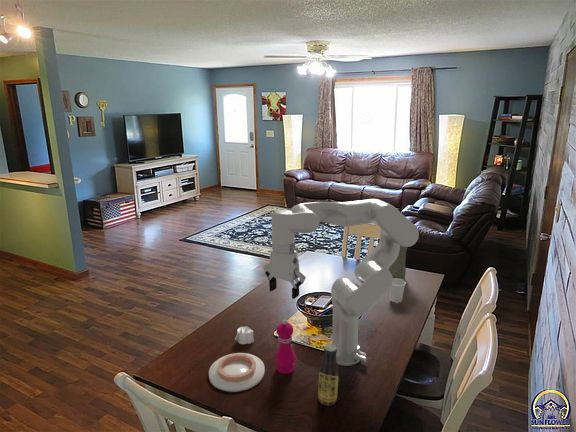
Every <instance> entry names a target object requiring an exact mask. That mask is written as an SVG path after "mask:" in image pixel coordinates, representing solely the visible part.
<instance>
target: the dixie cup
mask: <svg viewBox="0 0 576 432" xmlns="http://www.w3.org/2000/svg"><path fill="white" fill-rule="evenodd" d="M406 284H407V282H406V280H402V279H399V278H393V283H392V286H391V288H390V290H389V291H388V293H389V301H390V302H391V301H392V302H391V303H393V302H395V303H394V304H400V303H402V302H403V297H404V292H405V287H406ZM401 301H402V302H401ZM399 302H400V303H399Z"/></svg>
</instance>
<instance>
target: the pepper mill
mask: <svg viewBox="0 0 576 432" xmlns="http://www.w3.org/2000/svg"><path fill="white" fill-rule="evenodd" d="M293 333H294V328H293V325H292V324H291V323H289V322H288V320H287V319H282V321H281V322H280V323H279V324H278V325H277V327H276V334H277V340H278V342H279V347H278V349H277V351H276V354H275V362H276V363H277V364H276V369H277V372H279V373H280V374H283V375H286V374H287V375H288V374H291V373H293V372H294V370H295V362H296V354H295V352H294V350H293V348H292V343H291V342H292V341H293Z"/></svg>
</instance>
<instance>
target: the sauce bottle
mask: <svg viewBox="0 0 576 432" xmlns="http://www.w3.org/2000/svg"><path fill="white" fill-rule="evenodd" d="M336 353H337V347H336V346H335V345H333V344H331V343H328V344H326V345H324V349H323V354H324V356H323V359H322V361H321V362H320V364H319V374H318V389H317V395H318V396H317V397H318V398H317V399H318V402H319V403H320V404H321V405H323V406H333V405H334V404H336V403H337V401H338V394H339V393H338V391H339V390H338V389H339V380H340V379H339V377H340V376H339V375H340V374H339V372H340V365H338V363H337V361H336Z"/></svg>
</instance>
